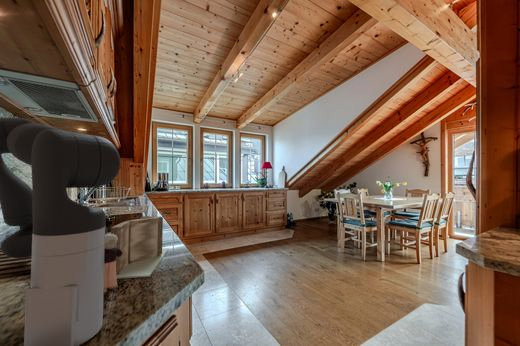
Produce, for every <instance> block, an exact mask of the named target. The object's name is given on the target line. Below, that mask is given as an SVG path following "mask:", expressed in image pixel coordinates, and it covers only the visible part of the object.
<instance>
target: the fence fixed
mask: <svg viewBox="0 0 520 346" xmlns="http://www.w3.org/2000/svg"><path fill="white" fill-rule="evenodd" d="M129 225H130V222H125V221H123V222H121V223H118V224H116V225H113V226H112V227H110V232H111V234H114V235H116V236H117V237H118V240H117V242H116V245H115V247H114V248H118V249H120V250H121V251H122V252H123V256H124V260H122V261H121V260H120V258H119V257H116V276H117V275H118V274H120V271H122V270H123V269H124V268H125V267H126V266H127V265H128V239H129Z"/></svg>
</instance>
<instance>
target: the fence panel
mask: <svg viewBox="0 0 520 346" xmlns="http://www.w3.org/2000/svg"><path fill="white" fill-rule="evenodd" d="M124 222H130V225H129V239H128V262H131V261H135V260H139V259H143V258H147V257H151V256H155V255H161V254H162V248H163V236H164V235H163V234H164V231H163V230H164V229H163V227H164V217H162V216H155V217H153V218H146V219H140V218H139V219H131V220H130V219H129V220H125V221H124Z"/></svg>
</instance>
